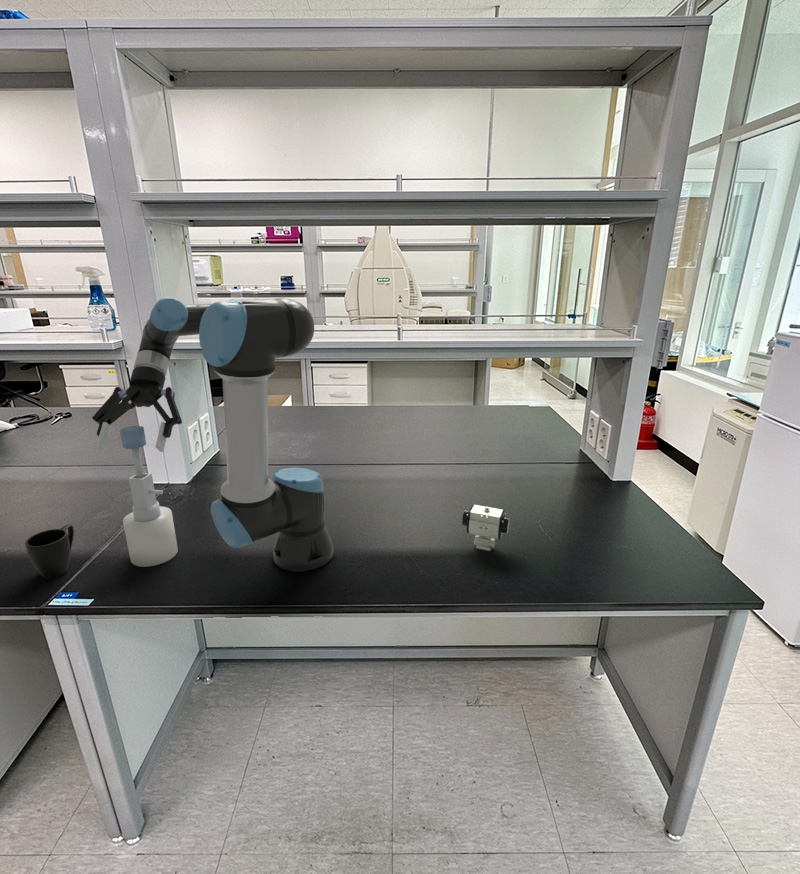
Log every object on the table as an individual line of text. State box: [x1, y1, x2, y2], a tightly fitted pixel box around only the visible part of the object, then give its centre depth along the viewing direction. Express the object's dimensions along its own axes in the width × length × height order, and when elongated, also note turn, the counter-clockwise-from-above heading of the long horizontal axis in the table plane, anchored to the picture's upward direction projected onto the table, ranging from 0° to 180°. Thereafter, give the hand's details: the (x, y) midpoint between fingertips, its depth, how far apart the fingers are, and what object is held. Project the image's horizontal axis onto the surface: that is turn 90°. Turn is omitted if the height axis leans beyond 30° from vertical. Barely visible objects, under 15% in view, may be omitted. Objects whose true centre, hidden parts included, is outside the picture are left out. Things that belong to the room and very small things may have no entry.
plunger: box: [119, 425, 147, 479], centre depth 116 cm, size 5×5×13 cm
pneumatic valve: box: [461, 504, 511, 552], centre depth 127 cm, size 6×12×12 cm, turn 69°
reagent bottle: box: [122, 472, 179, 568], centre depth 122 cm, size 11×11×22 cm
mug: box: [24, 524, 75, 580], centre depth 118 cm, size 8×12×10 cm
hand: (130, 449), depth 114 cm, fingers open, 13 cm apart
